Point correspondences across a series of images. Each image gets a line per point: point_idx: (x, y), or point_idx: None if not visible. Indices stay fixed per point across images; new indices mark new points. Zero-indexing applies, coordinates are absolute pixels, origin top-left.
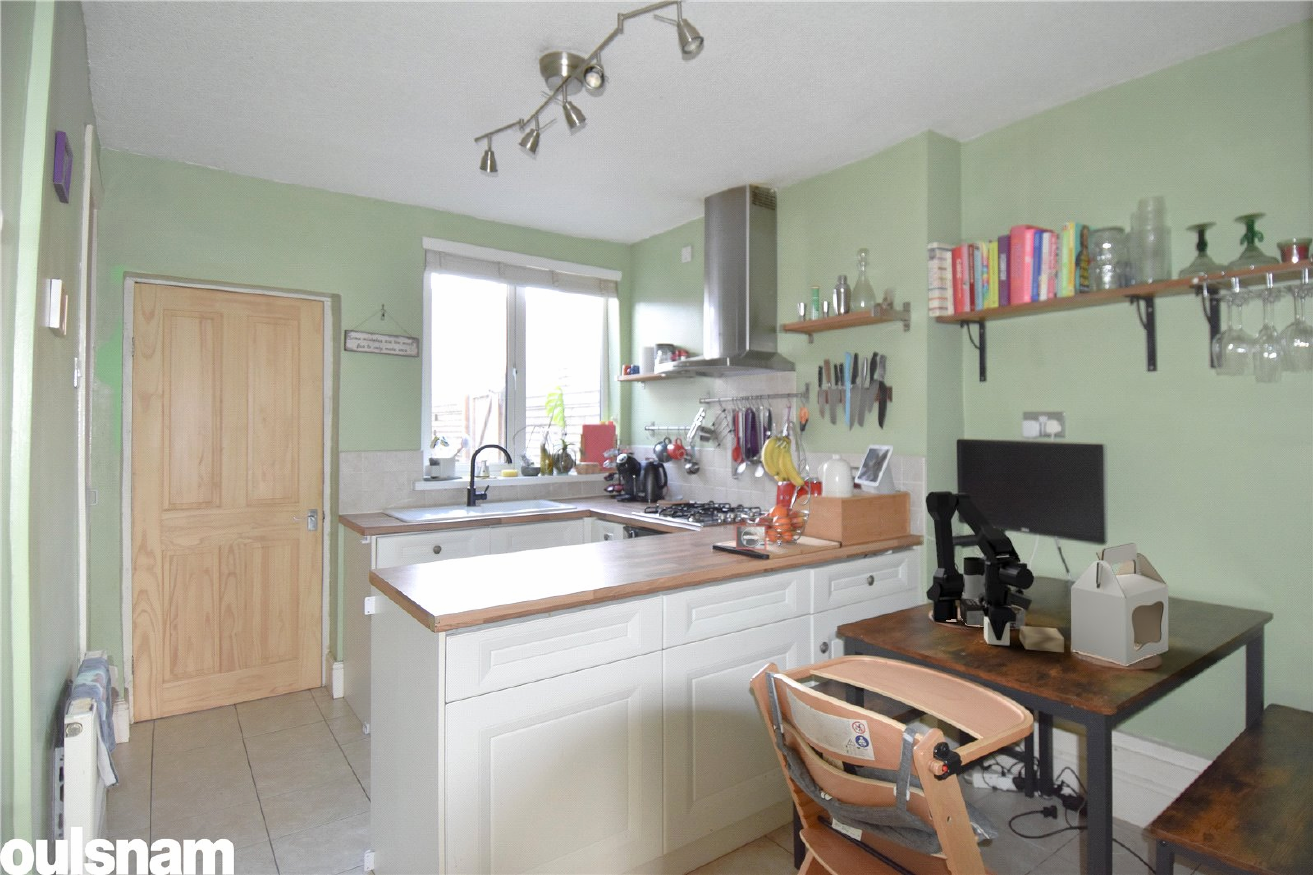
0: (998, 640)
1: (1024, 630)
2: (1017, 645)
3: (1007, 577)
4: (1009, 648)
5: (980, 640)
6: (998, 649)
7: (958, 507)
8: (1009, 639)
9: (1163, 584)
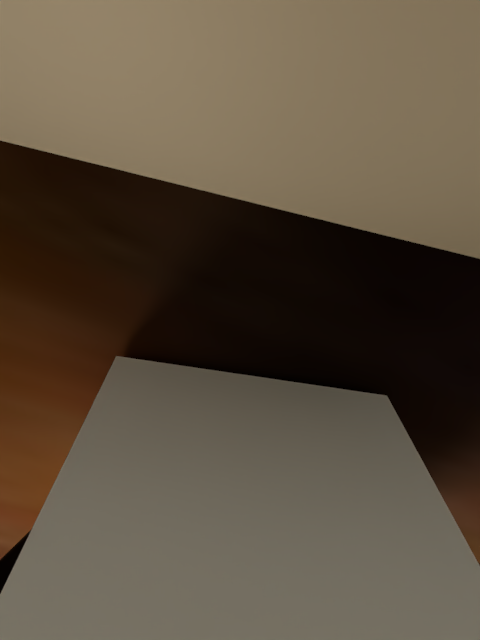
0: None
1: (336, 155)
2: (362, 282)
3: None
4: (465, 420)
5: None
6: (475, 524)
7: None
8: (419, 455)
9: None
